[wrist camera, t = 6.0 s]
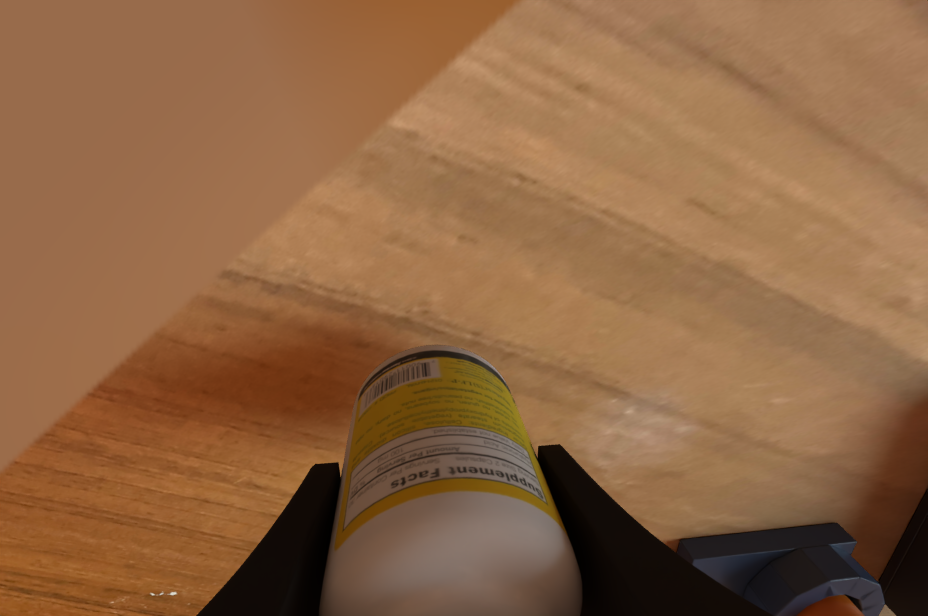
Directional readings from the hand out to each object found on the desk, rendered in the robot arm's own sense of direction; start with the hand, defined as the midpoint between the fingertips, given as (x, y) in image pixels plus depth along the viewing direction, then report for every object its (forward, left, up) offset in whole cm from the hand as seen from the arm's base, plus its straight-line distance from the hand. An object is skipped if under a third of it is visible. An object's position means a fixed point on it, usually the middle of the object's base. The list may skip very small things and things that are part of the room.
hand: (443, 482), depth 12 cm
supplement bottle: (0, 0, -4) cm, 4 cm away
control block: (+17, -15, -6) cm, 23 cm away
